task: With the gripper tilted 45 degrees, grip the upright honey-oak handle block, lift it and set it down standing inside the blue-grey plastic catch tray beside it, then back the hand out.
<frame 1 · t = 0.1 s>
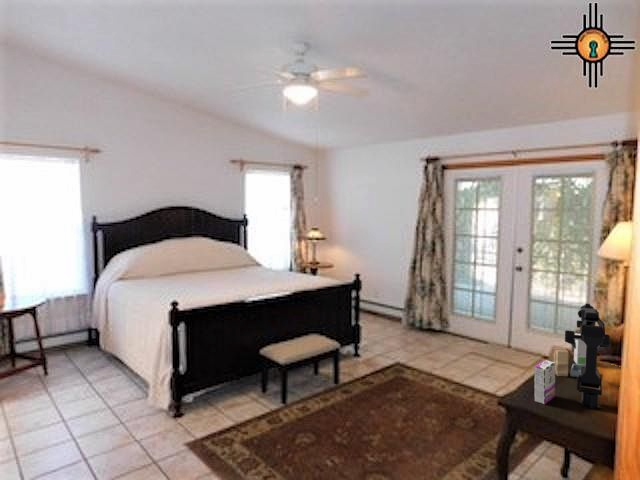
hand: (586, 349, 213), 15 cm above the table, tool tilted 35°, fingers open, 9 cm apart
candy bar box: (544, 399, 194), on the table
oak handle block: (560, 374, 220), on the table
skincare box: (583, 363, 233), on the table
catch tray: (583, 374, 218), on the table
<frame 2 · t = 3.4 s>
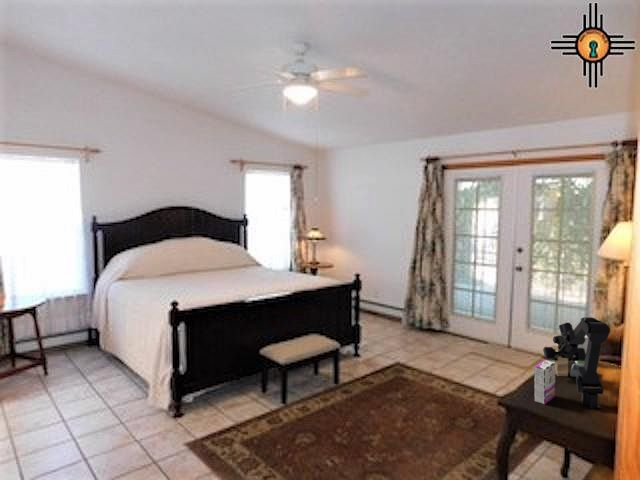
hand: (559, 360, 221), 7 cm above the table, tool tilted 45°, fingers closed on oak handle block, 5 cm apart
oak handle block: (560, 374, 220), on the table, touching gripper
everything else where it was.
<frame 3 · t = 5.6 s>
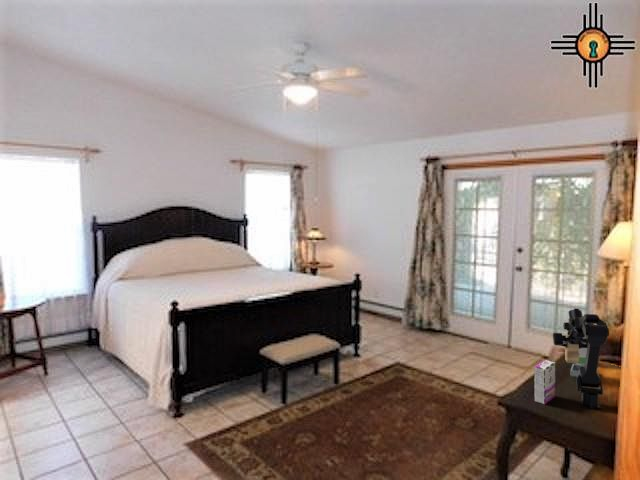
hand: (571, 347, 219), 14 cm above the table, tool tilted 45°, fingers closed on oak handle block, 5 cm apart
oak handle block: (571, 361, 219), point 7 cm above the table, touching gripper
everything else where it was.
when the fingers open (9 cm above the table, at t = 7.6 s): oak handle block drops 1 cm, resting on catch tray.
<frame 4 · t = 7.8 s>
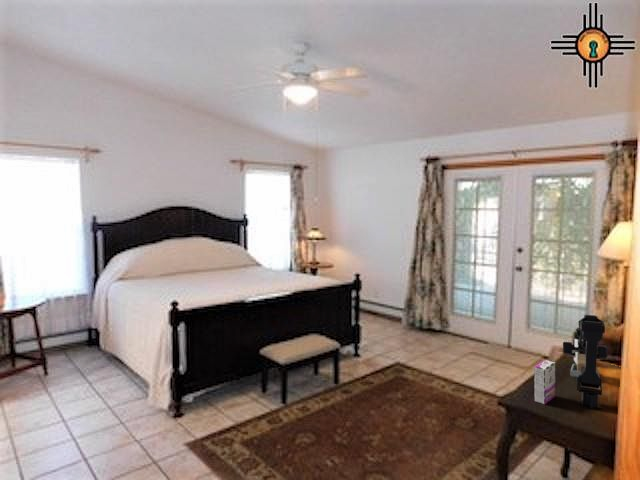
hand: (583, 357, 218), 9 cm above the table, tool tilted 45°, fingers open, 7 cm apart
oak handle block: (583, 373, 218), point 1 cm above the table, touching catch tray
everything else where it was.
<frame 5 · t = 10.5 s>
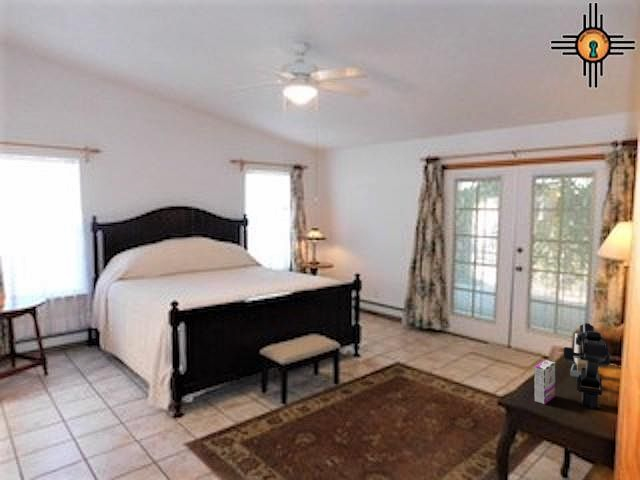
hand: (584, 363, 210), 9 cm above the table, tool tilted 45°, fingers open, 9 cm apart
nothing on the table moved.
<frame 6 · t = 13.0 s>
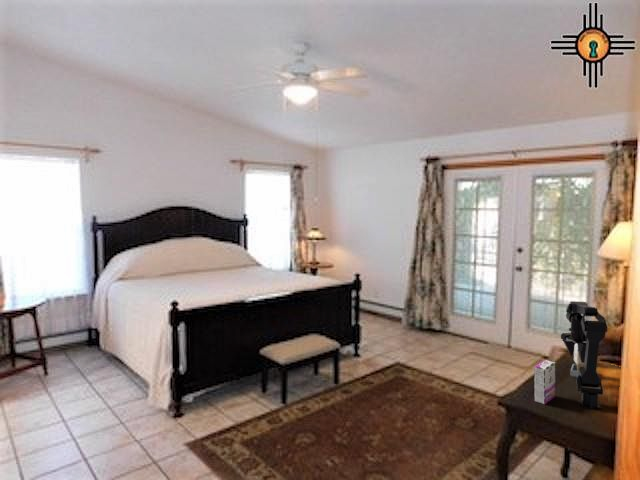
hand: (577, 359, 206), 13 cm above the table, tool pointing down, fingers open, 9 cm apart
nothing on the table moved.
at the end: oak handle block 0.0 cm off-centre on the catch tray, point 0.6 cm above the catch tray's base; oak handle block tilted 0°; the gripper is holding nothing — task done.
